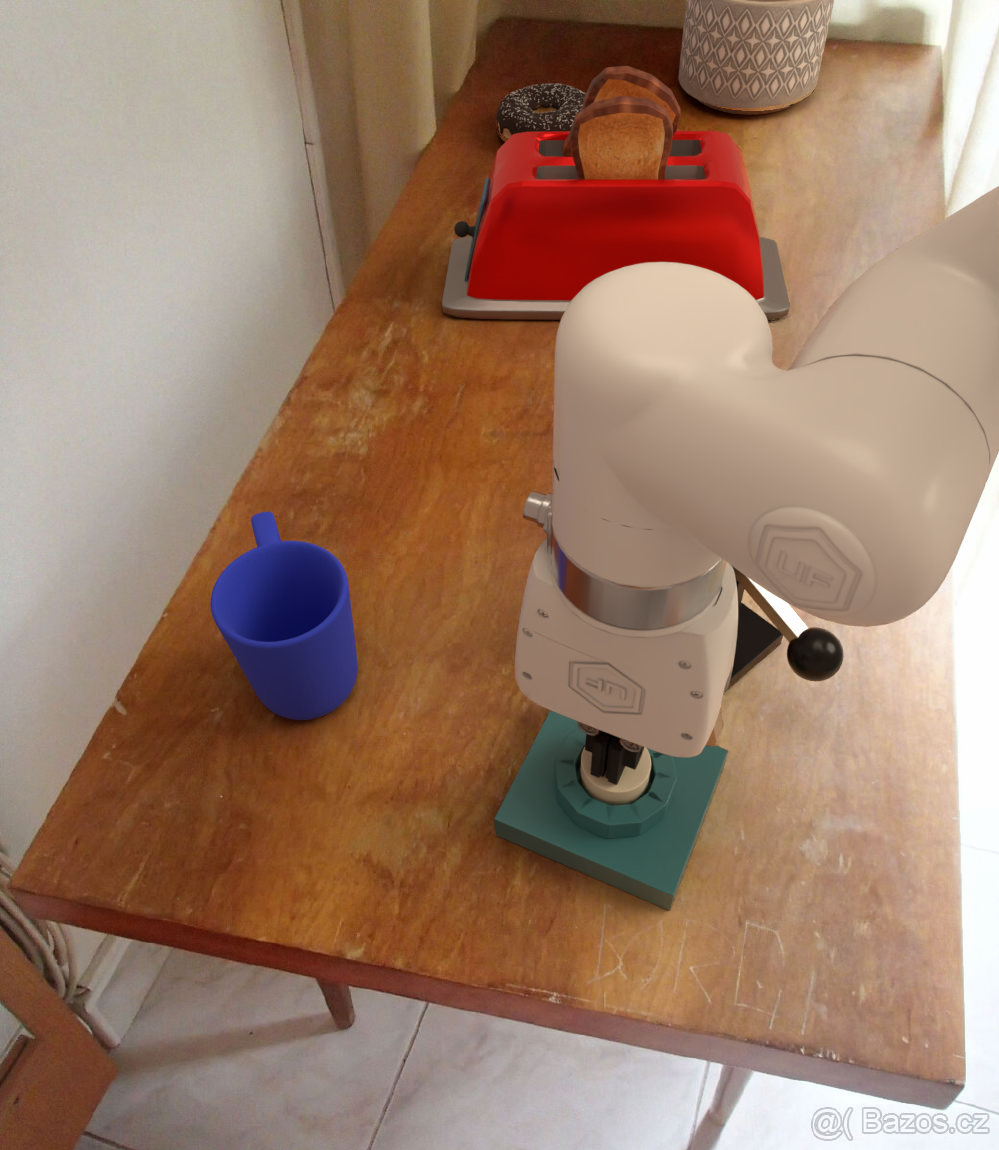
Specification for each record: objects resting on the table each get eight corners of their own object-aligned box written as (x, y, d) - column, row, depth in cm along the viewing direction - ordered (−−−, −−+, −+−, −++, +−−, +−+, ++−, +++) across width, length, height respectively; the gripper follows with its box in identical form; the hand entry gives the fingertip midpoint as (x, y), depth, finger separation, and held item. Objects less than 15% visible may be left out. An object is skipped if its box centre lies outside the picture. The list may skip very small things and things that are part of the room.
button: (658, 760, 58) (661, 745, 57) (634, 817, 56) (636, 802, 55) (595, 735, 60) (596, 720, 58) (569, 790, 57) (570, 776, 56)
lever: (834, 667, 60) (864, 653, 57) (801, 697, 59) (830, 684, 56) (697, 504, 62) (720, 482, 59) (662, 530, 61) (684, 509, 58)
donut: (477, 132, 116) (475, 98, 113) (556, 102, 120) (556, 68, 117) (536, 168, 110) (535, 133, 107) (616, 135, 114) (618, 100, 111)
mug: (343, 582, 72) (319, 484, 65) (383, 715, 65) (361, 623, 57) (231, 612, 71) (193, 516, 63) (259, 751, 63) (219, 662, 56)
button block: (723, 767, 62) (733, 734, 58) (670, 911, 56) (677, 882, 53) (561, 705, 65) (562, 671, 62) (495, 835, 59) (492, 804, 56)
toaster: (441, 321, 92) (421, 121, 78) (453, 245, 100) (438, 52, 86) (789, 324, 90) (835, 119, 76) (773, 246, 98) (812, 48, 84)
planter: (816, 65, 124) (839, -49, 114) (812, 127, 114) (837, 7, 104) (685, 57, 127) (696, -55, 117) (669, 116, 117) (680, -1, 107)
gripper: (444, 554, 43) (467, 763, 57) (786, 674, 38) (719, 868, 52) (518, 445, 47) (522, 665, 61) (833, 541, 42) (759, 754, 57)
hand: (613, 758), depth 57 cm, fingers closed
